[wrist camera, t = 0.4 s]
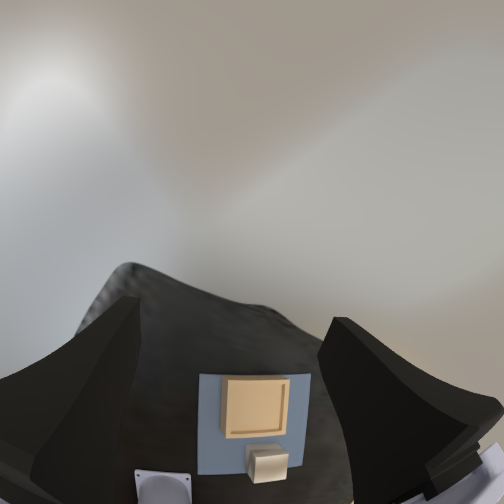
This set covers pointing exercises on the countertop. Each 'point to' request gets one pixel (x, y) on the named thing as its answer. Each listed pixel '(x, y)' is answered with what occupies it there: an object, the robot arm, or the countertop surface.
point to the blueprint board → (236, 447)
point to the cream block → (266, 462)
